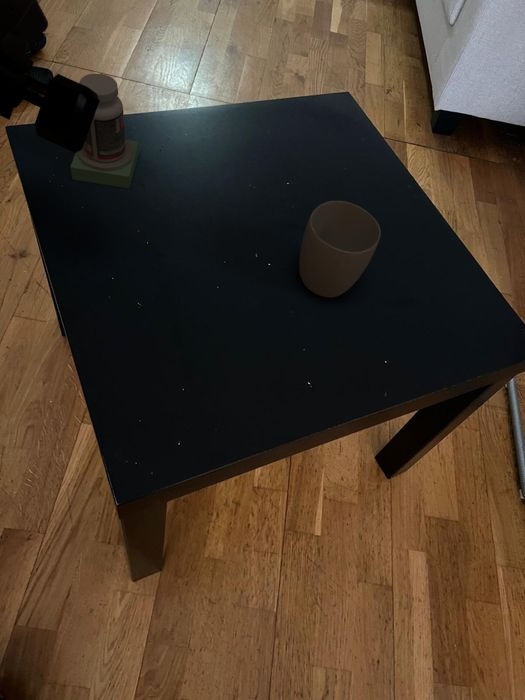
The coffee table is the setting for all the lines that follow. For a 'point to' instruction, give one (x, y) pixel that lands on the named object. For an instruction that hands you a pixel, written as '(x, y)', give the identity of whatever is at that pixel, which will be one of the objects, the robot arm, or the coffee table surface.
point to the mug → (337, 247)
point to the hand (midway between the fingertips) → (52, 112)
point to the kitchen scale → (107, 167)
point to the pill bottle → (105, 120)
